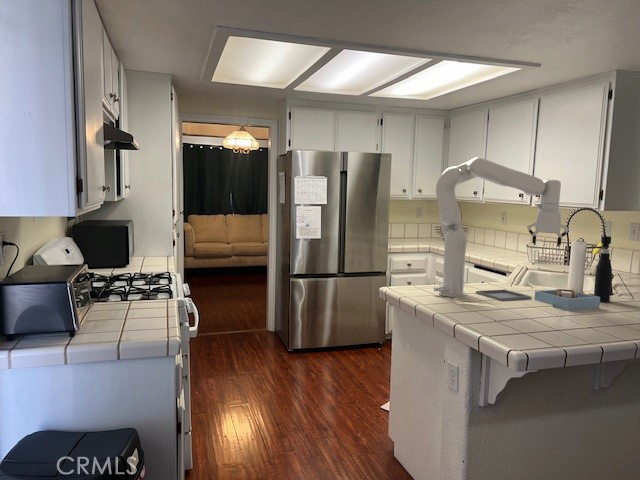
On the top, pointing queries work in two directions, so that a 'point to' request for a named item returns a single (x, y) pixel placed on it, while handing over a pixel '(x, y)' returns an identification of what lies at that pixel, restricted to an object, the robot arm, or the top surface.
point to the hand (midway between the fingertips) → (546, 245)
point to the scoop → (574, 295)
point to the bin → (568, 300)
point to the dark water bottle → (603, 273)
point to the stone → (566, 294)
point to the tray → (503, 295)
